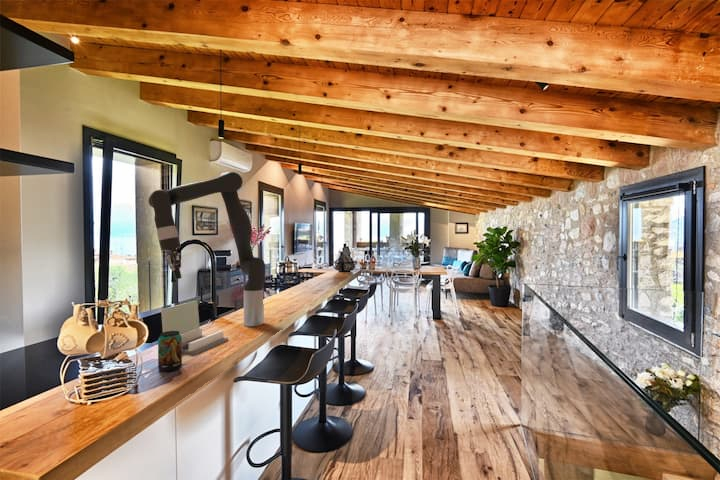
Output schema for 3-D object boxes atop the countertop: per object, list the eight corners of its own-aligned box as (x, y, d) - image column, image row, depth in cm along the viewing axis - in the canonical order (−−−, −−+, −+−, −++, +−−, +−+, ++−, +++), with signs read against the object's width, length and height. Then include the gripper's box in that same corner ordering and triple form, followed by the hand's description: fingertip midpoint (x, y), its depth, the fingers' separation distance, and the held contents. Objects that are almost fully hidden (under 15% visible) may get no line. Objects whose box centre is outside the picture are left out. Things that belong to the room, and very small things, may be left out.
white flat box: (196, 337, 164) (196, 327, 164) (228, 340, 159) (228, 330, 159) (159, 351, 144) (159, 340, 144) (194, 355, 140) (194, 344, 140)
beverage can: (166, 374, 121) (166, 337, 121) (153, 370, 125) (153, 333, 125) (186, 367, 127) (186, 332, 127) (173, 363, 131) (173, 329, 131)
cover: (199, 328, 163) (198, 328, 163) (197, 300, 163) (195, 300, 163) (165, 340, 144) (163, 340, 145) (162, 309, 144) (161, 309, 145)
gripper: (182, 234, 154) (192, 275, 155) (173, 238, 164) (183, 277, 165) (163, 237, 149) (173, 280, 150) (154, 241, 159) (164, 281, 160)
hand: (178, 278), depth 157 cm, fingers closed
